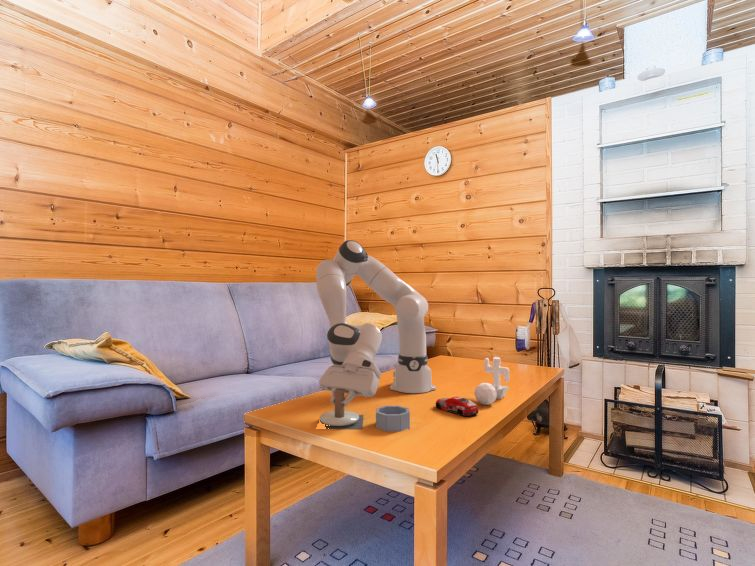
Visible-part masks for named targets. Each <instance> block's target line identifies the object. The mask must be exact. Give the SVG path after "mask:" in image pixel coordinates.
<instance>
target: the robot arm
mask: <svg viewBox="0 0 755 566" xmlns="http://www.w3.org/2000/svg"><path fill="white" fill-rule="evenodd" d="M315 271H316V274H315V275H316V276H315V278H316V279H315V283H316V289H317V292H318V296H319V299H320V301H321V304H322V306H323V308H324V311H325V313H326V316H327V319H328V322H329V325H330V328H329V329H328V331H327V333H326V336H327V343H328V347H329V352H330V353H329V354H330V361H331V363H332V365H331V366H328V368H327V369H326V370H325V372H324V373H323V374H322V375H321V377H320V379H319V381H318V383H319V386H320V387H321V389H322V390H324V391H330V392H331V397H330V399H329V402H330V403H331V405H332V404H333V405H335V395H334V390H337V389H343V390H344V394H348V395H347V396H346V397H344V398H343V400H342V402H341V404H342V405H344V407H348V405H349V403H350V402H352V401H353V400H354V399H355V398H356V396H360V397H365V398H366V397H368V398H372V397H374V396H375V395H376V393H377V391H378V389H379V385H380V379H381V377H382V372H381V371H380V370H379V368H378V366H377V364H376V363H375V362H373V360H374V358H375V357H376V356H377V354H378V352H379V349H380V347H381V344H382V340H383V335H382V331H381V330H380V328H378V327H377V326H376V325H375V324H372V323H370V322H369V323H368V322H365V323H363V324H359V325H358V324H357V325H354V324H348V323H347V297H348V296H347V295H348V293H347V291H348V290H347V287H349V285H350V284H351V283H352V280H353V279H354V277H355V276H357V277H360V279H361V280H362V282H364V283H365V284H366V285H367V286H368V287H369V288H370V289H371V290H372V291H374V293H376V294H377V295H378V296H379V297H380V298H381V299H382V300H384V301H386V302H387V303H389V304H390V305H391V306H393V307H394V308H395V309H394V311H395V314H396V321H397V323H396V324H397V330H398V336H399V337H398V339H399V340H398V341H399V343H398V345H399V346H398V347H399V352H398V355H397V356H398V357H397V362H398V363H397V364H398V365H397V366H396V367H395V368H394V370H393V375H392V376H393V377H394V378H393V382H392V383H391V385H390V386H389V390H390V391H396V392H400V393H406V394H422V393H428V392H431V391H434V390H436V389H437V387H436V385H434V384H433V383H432V382H433V381H432V380H433V379H432V369H431V368H430V367H429V366H428V360H429V358H428V355H427V334H426V327H425V316H427V314H428V311H429V303H428V300H427V299H426V298H425V297H424V296H423V295H422V294H421V293H419V292H418V291H417V290H415V288H413V287H412V286H410V285H409V284H408V283H406V282H405V281H404V280H403V279H401V278H400V277H399V276H397V275H396V274H395V273H394V272H393V271H392V270H391V269H389V268H388V267H387V266H386V265H385V264H384V263H382V262H381V261H379V260H378V259H376V258H375V257H373V256H372V255H368V252H367V251H366V250H365V247H363V245H362V244H361V243H359V242H358V241H356V240H353V239H351V240H350V239H349V240H345V241H343V242H342V243H341V245H340V246H339V248H338V249H337V251H336V253H335V254H334V257H333V259H325V260H322V261H320V262H319V263H318V265H317V267H316V270H315Z"/></svg>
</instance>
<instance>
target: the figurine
mask: <svg viewBox="0 0 755 566" xmlns="http://www.w3.org/2000/svg"><path fill="white" fill-rule="evenodd" d="M492 364H493V365H490V359H489V358H488V357H486V358H484V364H483V366H484V372H485V373H487V374H493V376H492V379H493V382H492V383H490V384H491V385H492V386H493V387H494V388H495V390H496V393H497V397H496V399H498V400H500V399H501V400H502V398H504V397H505V395H506V393H507V392H508V389H509V388H510V387H509V386H508V385H501V375H504V382H505V383H508V382H510V369H509V367H505V366H501V358H500V357H499V356H495V357H492Z"/></svg>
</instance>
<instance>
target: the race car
mask: <svg viewBox="0 0 755 566" xmlns="http://www.w3.org/2000/svg"><path fill="white" fill-rule="evenodd" d="M435 407H436V409H437V410H443V411H446V412H450V413H451V414H452V413H453V414H455V415H458V416H459V417H460V416H461V417H466V416H467V417H469V416H474V415H477V414H479V407H478V405H477V404H476V403H475V402H473V401H471V400H470V399H468V398H466V397H462V396H453V397H443V398H438V399H436V401H435Z"/></svg>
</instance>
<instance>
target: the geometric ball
mask: <svg viewBox="0 0 755 566" xmlns="http://www.w3.org/2000/svg"><path fill="white" fill-rule="evenodd" d="M491 384H492V383H489V382H481V383H480V384H478V385H477V386H476V387H475V389H474V393H473V394H474V397H475V400H476V402H478V403H479V404H480V405H483V406H487V405H488V406H490V405H491V404H493V403H494V402H495V401H496V400H497V398H496V397H497V393H496V390H495V388H494V387H493V386H492V385H491Z"/></svg>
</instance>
